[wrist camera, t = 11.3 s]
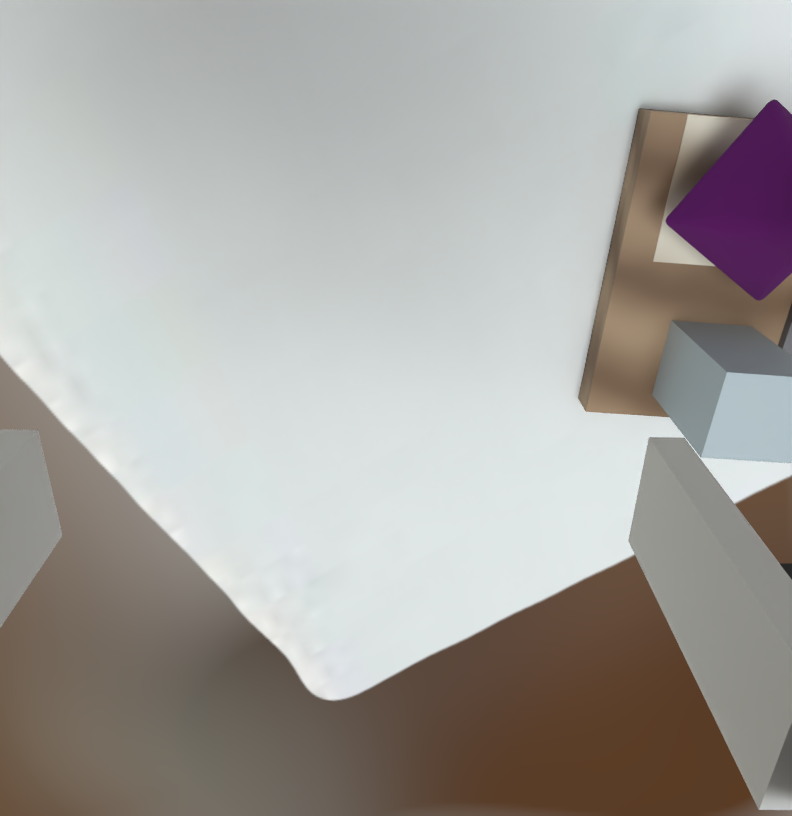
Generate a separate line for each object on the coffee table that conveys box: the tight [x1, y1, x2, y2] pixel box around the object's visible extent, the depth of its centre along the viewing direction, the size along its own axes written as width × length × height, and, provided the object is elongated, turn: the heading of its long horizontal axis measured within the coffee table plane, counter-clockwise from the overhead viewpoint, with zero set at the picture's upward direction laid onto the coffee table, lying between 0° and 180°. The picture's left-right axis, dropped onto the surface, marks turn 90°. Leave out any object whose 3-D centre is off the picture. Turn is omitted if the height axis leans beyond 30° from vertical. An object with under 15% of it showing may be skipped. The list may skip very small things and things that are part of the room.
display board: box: [579, 109, 792, 417], centre depth 43 cm, size 18×12×3 cm, turn 176°
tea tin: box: [652, 320, 792, 463], centre depth 41 cm, size 5×5×8 cm
